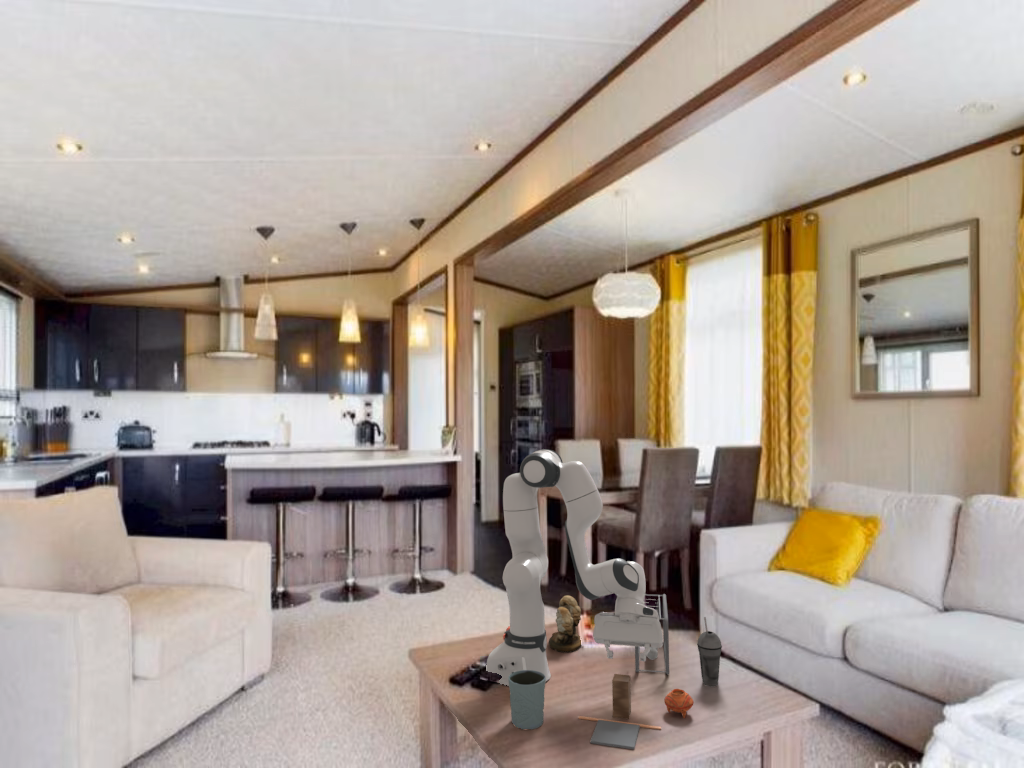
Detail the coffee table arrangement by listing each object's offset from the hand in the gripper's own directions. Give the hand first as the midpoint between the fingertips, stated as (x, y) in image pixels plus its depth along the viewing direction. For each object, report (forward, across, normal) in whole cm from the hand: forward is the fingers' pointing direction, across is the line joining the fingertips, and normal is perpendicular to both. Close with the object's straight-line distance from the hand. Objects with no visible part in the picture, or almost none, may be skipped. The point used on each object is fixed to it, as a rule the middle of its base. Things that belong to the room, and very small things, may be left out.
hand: (626, 659), depth 189 cm
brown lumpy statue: (-20, -27, +37) cm, 50 cm away
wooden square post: (+14, -1, +3) cm, 14 cm away
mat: (+22, -1, -5) cm, 23 cm away
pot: (+11, +14, +7) cm, 19 cm away
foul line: (+18, -1, 0) cm, 18 cm away
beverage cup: (-5, +23, +23) cm, 32 cm away
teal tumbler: (+22, -25, -4) cm, 33 cm away
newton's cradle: (-16, +4, +34) cm, 38 cm away
